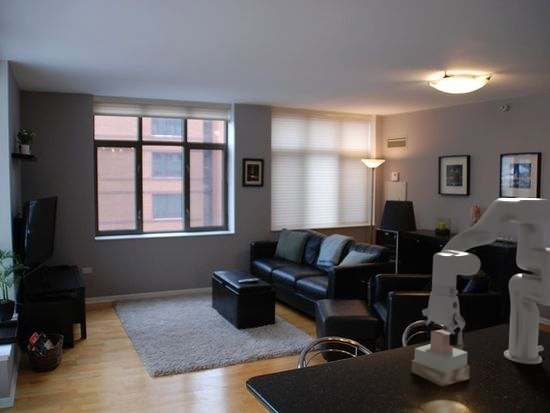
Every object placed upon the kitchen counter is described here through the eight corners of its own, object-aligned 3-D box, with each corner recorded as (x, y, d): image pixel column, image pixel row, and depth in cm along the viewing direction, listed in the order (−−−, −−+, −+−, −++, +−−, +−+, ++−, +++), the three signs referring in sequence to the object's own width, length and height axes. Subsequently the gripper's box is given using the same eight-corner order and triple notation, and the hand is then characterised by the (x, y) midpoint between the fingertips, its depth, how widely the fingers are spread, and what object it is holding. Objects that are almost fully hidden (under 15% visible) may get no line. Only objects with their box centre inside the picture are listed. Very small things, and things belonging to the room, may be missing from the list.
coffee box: (463, 366, 172) (465, 321, 171) (444, 364, 173) (446, 319, 172) (459, 357, 181) (461, 314, 180) (441, 355, 182) (443, 313, 181)
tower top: (435, 354, 171) (436, 342, 171) (466, 365, 161) (467, 352, 161) (414, 361, 164) (414, 348, 164) (445, 373, 154) (446, 359, 154)
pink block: (440, 346, 166) (441, 329, 165) (452, 351, 161) (453, 333, 161) (430, 348, 163) (431, 331, 163) (442, 353, 159) (442, 335, 159)
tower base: (438, 366, 172) (438, 354, 172) (469, 379, 161) (469, 366, 160) (411, 373, 165) (412, 360, 165) (441, 387, 154) (442, 373, 154)
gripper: (473, 294, 155) (470, 347, 156) (432, 284, 170) (430, 331, 171) (457, 296, 152) (454, 350, 153) (416, 285, 167) (414, 334, 168)
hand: (441, 340), depth 162 cm, fingers open, 9 cm apart
